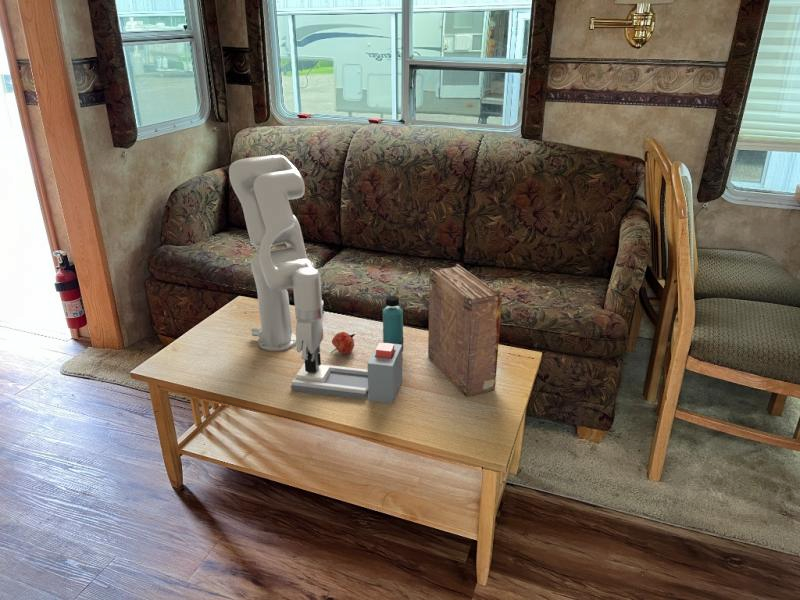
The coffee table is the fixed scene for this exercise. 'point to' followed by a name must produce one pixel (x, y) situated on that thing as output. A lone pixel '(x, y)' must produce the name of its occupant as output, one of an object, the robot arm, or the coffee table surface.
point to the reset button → (385, 350)
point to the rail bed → (337, 383)
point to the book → (464, 329)
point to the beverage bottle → (393, 322)
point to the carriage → (320, 372)
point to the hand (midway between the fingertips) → (313, 367)
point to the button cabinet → (385, 376)
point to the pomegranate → (343, 342)
